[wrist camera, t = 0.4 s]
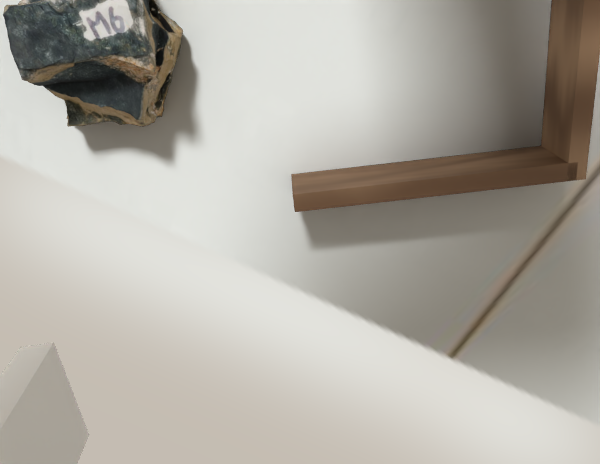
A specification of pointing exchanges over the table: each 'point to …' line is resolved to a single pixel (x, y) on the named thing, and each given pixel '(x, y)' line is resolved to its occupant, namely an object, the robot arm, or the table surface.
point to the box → (497, 164)
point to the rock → (97, 56)
